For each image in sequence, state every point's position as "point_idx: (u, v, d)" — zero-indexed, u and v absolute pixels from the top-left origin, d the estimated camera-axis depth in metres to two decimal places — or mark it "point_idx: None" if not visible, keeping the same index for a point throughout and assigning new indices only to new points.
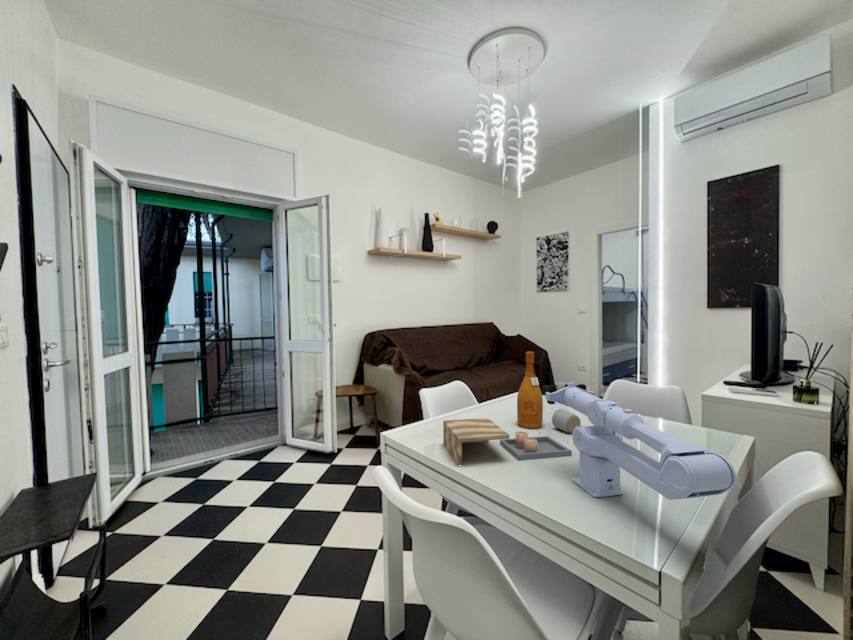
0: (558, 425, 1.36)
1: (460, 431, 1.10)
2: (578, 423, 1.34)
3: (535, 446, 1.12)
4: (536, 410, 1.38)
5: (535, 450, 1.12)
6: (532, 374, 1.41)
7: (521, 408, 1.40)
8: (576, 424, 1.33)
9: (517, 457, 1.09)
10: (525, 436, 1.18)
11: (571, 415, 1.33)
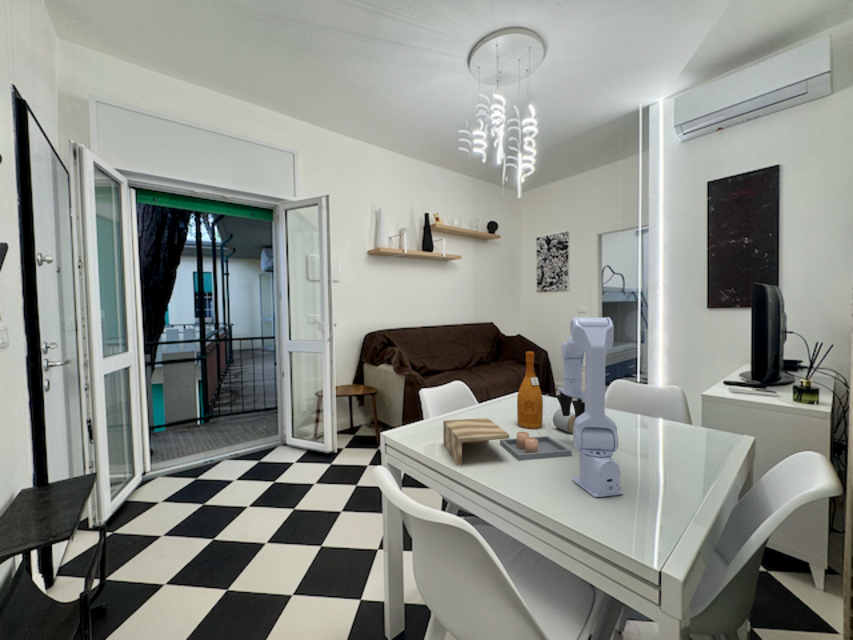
0: (559, 425, 1.36)
1: (460, 431, 1.10)
2: None
3: (535, 446, 1.12)
4: (536, 410, 1.38)
5: (535, 450, 1.12)
6: (532, 374, 1.41)
7: (521, 408, 1.40)
8: None
9: (517, 457, 1.09)
10: (526, 436, 1.17)
11: (572, 415, 1.33)
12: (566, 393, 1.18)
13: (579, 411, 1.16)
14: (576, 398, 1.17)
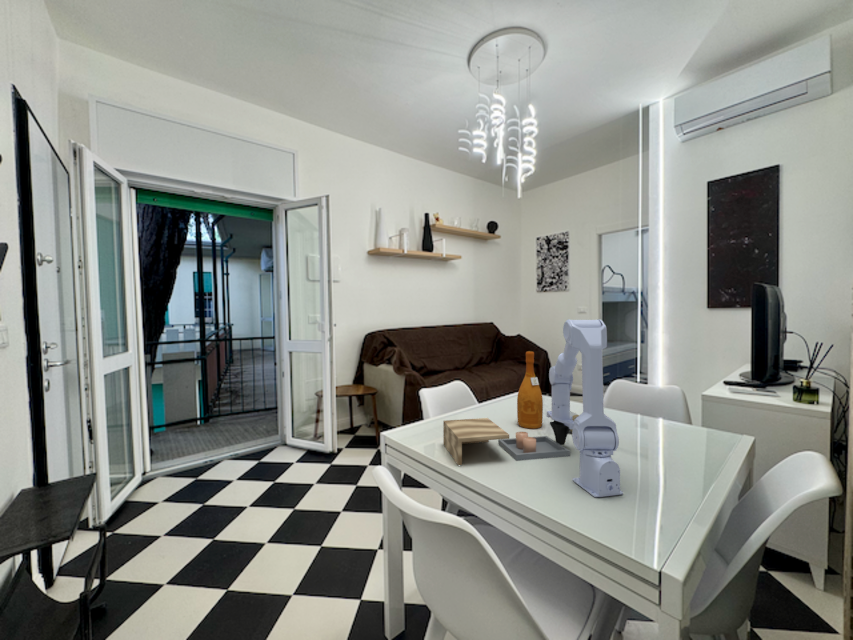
0: None
1: (460, 431, 1.10)
2: None
3: (534, 445, 1.12)
4: (536, 410, 1.38)
5: (534, 449, 1.12)
6: (532, 374, 1.41)
7: (521, 408, 1.40)
8: None
9: (515, 457, 1.09)
10: (526, 435, 1.18)
11: (573, 415, 1.34)
12: (554, 418, 1.17)
13: (561, 434, 1.18)
14: (564, 424, 1.16)
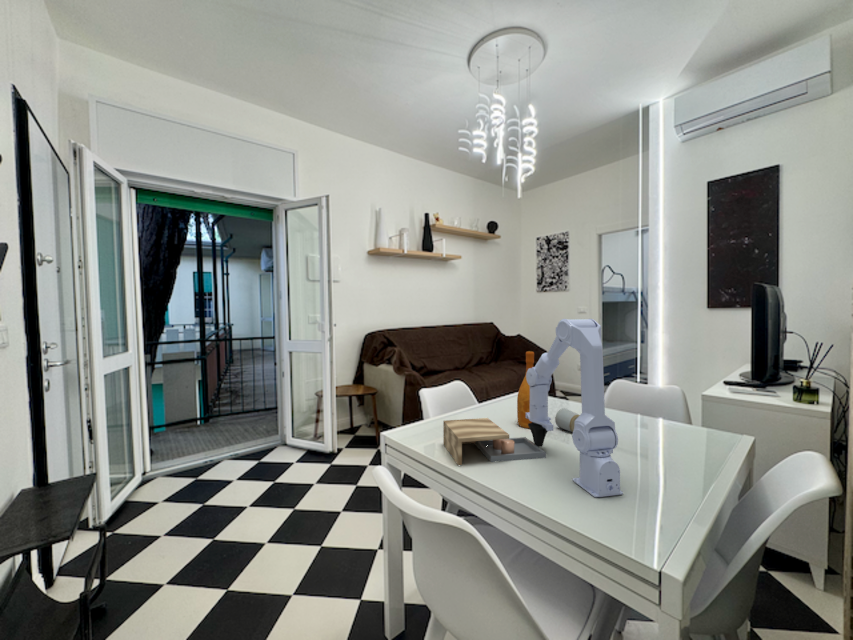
0: (561, 425, 1.36)
1: (460, 431, 1.10)
2: None
3: (512, 447, 1.11)
4: None
5: (512, 451, 1.11)
6: None
7: (521, 408, 1.40)
8: None
9: (489, 458, 1.08)
10: None
11: (574, 415, 1.34)
12: (531, 420, 1.16)
13: (538, 435, 1.16)
14: None
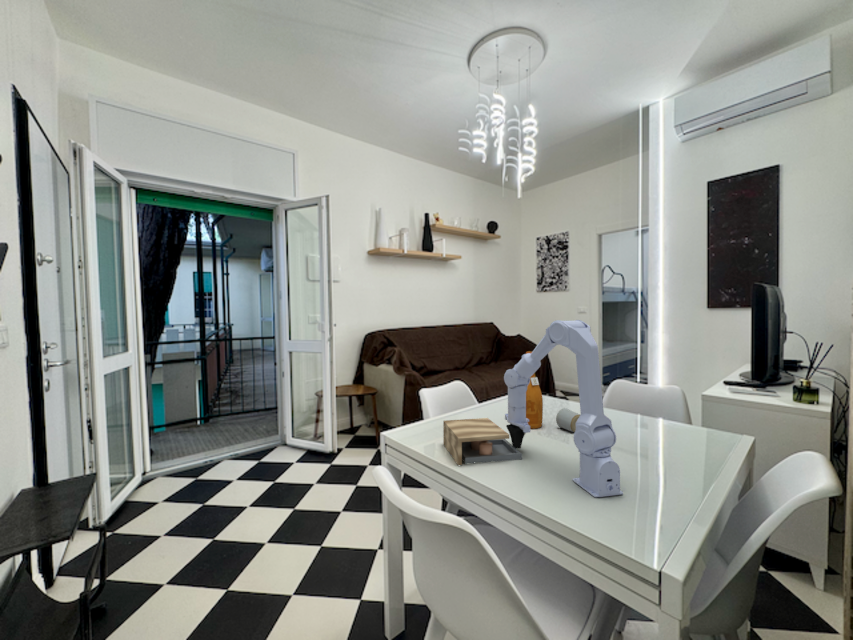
0: (562, 424, 1.37)
1: (460, 431, 1.10)
2: None
3: (490, 449, 1.09)
4: (536, 410, 1.38)
5: (490, 453, 1.09)
6: None
7: None
8: None
9: (464, 460, 1.07)
10: None
11: (575, 415, 1.34)
12: (509, 421, 1.14)
13: (516, 437, 1.15)
14: (519, 427, 1.13)
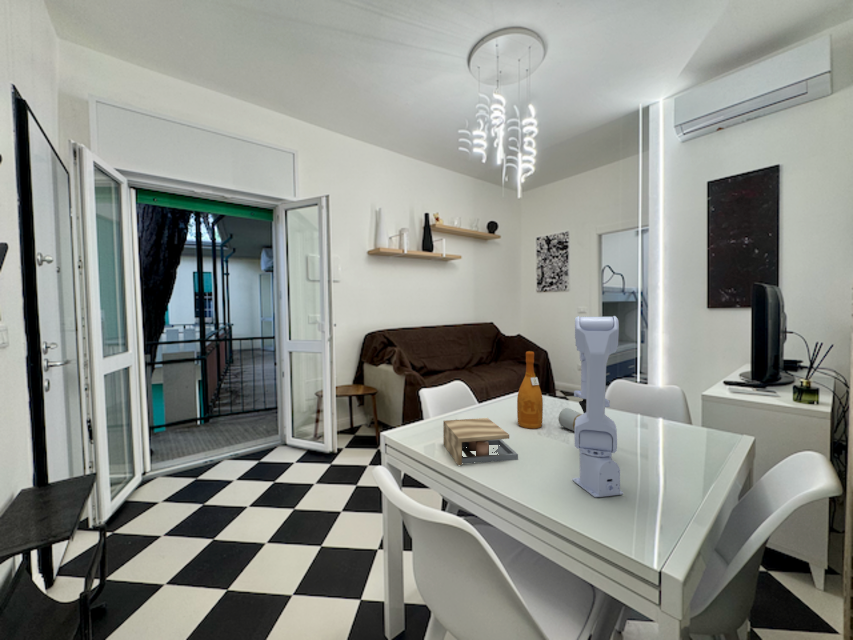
0: (564, 424, 1.37)
1: (460, 431, 1.10)
2: None
3: (487, 449, 1.10)
4: (536, 410, 1.38)
5: (487, 453, 1.10)
6: (532, 374, 1.41)
7: (521, 408, 1.40)
8: None
9: None
10: None
11: (577, 414, 1.34)
12: (584, 397, 1.11)
13: None
14: None
